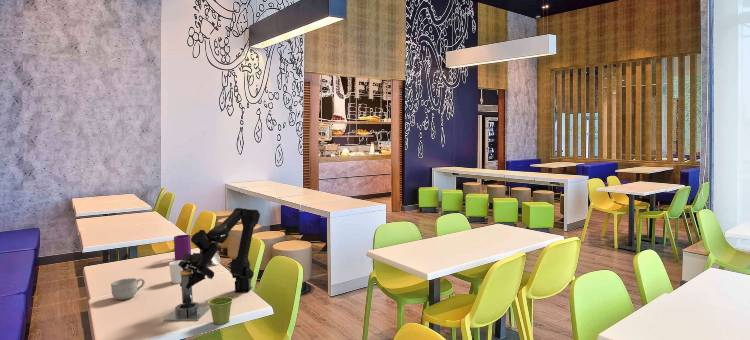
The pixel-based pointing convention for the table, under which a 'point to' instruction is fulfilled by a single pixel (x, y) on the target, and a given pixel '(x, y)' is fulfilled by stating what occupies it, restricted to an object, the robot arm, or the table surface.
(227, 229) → the robot arm
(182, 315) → the rosette collar
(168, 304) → the table surface
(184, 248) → the purple box
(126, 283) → the teacup
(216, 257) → the spread jar
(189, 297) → the copper capped metal cylinder
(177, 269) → the white cup
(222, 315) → the plant pot
